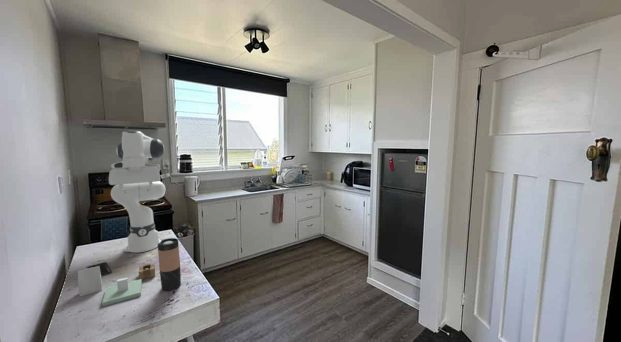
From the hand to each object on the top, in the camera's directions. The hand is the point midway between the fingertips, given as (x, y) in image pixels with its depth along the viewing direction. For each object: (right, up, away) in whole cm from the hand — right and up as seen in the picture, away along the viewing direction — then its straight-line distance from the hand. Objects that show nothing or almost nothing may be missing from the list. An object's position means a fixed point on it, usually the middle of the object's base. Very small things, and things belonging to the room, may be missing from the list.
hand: (136, 192), depth 119 cm
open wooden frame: (+8, -38, -4) cm, 39 cm away
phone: (-19, -38, 0) cm, 43 cm away
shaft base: (+7, -40, -18) cm, 44 cm away
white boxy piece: (-8, -40, -16) cm, 44 cm away
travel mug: (+24, -39, -13) cm, 48 cm away
